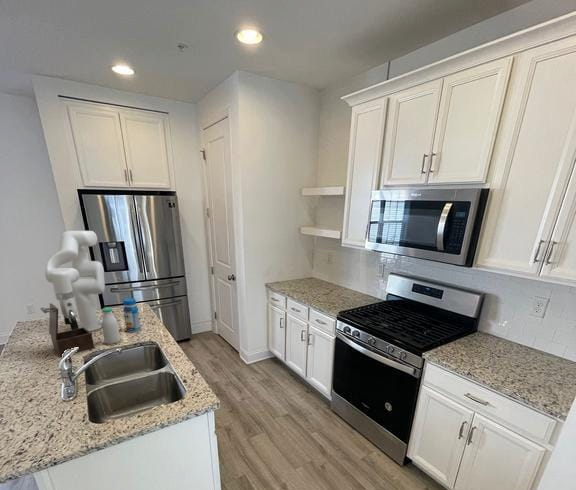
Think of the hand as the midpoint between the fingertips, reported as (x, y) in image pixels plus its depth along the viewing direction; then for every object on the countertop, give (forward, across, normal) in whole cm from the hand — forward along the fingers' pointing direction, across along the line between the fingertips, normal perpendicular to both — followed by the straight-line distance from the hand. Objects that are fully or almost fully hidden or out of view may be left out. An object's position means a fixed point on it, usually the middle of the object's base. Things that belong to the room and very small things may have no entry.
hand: (71, 326), depth 164 cm
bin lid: (-5, 0, +7) cm, 8 cm away
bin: (+13, 0, +1) cm, 13 cm away
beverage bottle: (+13, +6, -33) cm, 36 cm away
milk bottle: (+13, -4, -17) cm, 22 cm away
